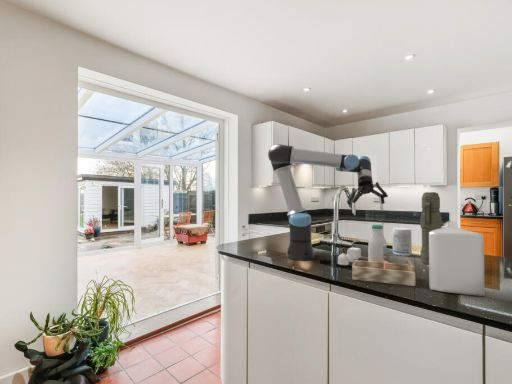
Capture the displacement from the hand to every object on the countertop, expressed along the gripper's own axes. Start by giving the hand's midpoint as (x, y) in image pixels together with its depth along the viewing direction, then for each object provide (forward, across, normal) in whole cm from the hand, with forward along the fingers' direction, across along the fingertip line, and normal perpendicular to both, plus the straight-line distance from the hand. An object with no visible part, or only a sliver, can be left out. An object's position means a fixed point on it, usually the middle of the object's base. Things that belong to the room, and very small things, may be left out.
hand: (367, 211), depth 137 cm
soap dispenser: (+40, -28, +1) cm, 49 cm away
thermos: (+17, -20, -30) cm, 40 cm away
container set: (+21, +14, -10) cm, 27 cm away
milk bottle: (+28, -1, -6) cm, 29 cm away
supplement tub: (+6, -6, -39) cm, 40 cm away
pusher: (+36, -7, +5) cm, 37 cm away
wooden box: (+37, -5, +5) cm, 38 cm away
